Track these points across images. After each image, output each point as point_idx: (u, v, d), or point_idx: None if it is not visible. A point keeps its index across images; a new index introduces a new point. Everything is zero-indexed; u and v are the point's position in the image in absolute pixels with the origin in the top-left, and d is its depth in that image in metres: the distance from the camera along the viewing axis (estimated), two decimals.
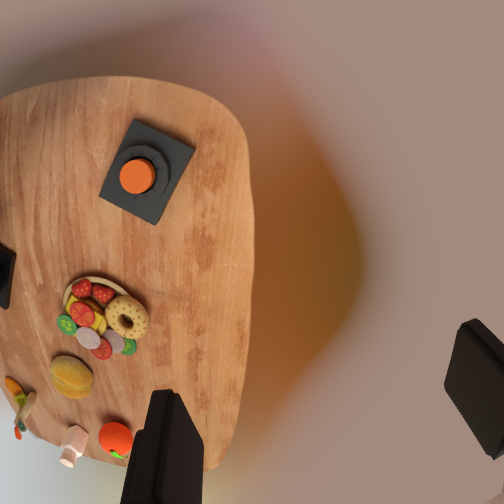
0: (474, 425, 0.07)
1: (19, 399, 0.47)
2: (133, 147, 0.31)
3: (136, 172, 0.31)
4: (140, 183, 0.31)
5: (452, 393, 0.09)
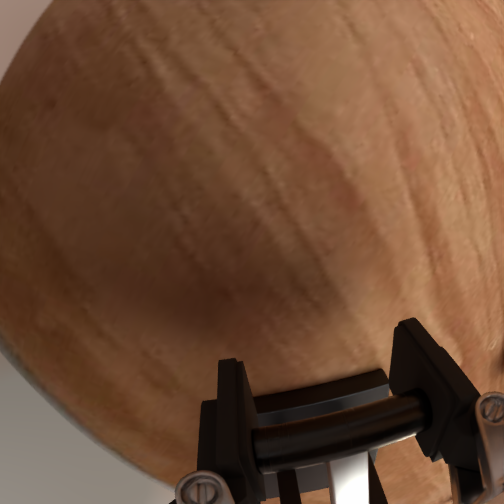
0: None
1: None
2: None
3: None
4: None
5: (395, 391, 0.10)
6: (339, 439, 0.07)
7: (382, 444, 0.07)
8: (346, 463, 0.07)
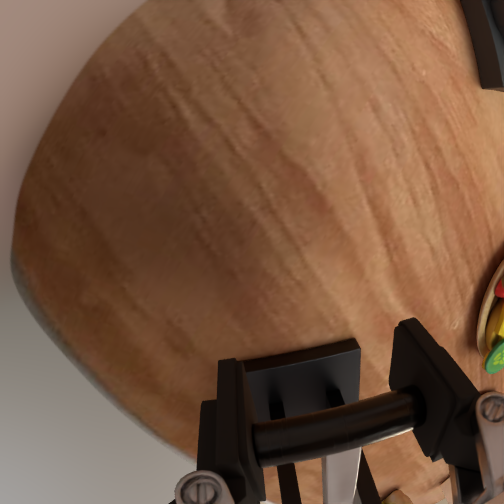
0: None
1: None
2: None
3: None
4: None
5: None
6: (337, 442, 0.07)
7: (375, 442, 0.07)
8: (341, 455, 0.08)
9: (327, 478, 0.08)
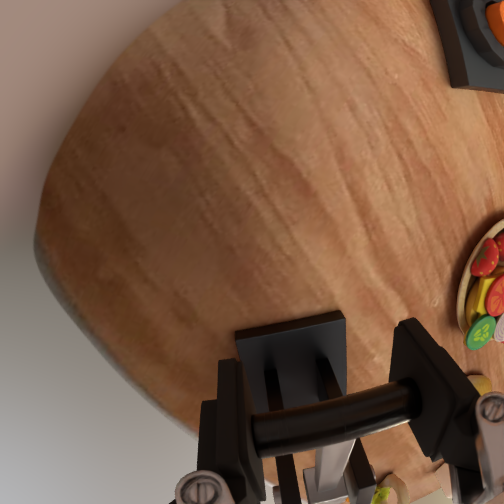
0: (413, 425, 0.08)
1: (375, 498, 0.32)
2: None
3: None
4: None
5: None
6: (335, 437, 0.08)
7: (371, 433, 0.08)
8: (337, 444, 0.08)
9: (322, 458, 0.09)
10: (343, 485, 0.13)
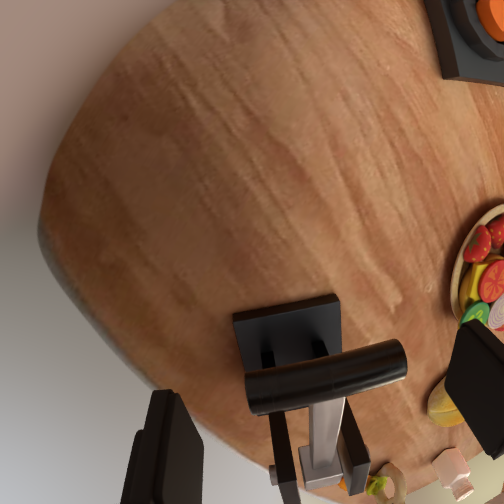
0: (474, 425, 0.07)
1: (372, 487, 0.33)
2: None
3: (503, 10, 0.11)
4: None
5: (452, 393, 0.09)
6: (324, 393, 0.09)
7: (359, 392, 0.09)
8: (327, 403, 0.09)
9: (314, 422, 0.10)
10: (338, 463, 0.14)
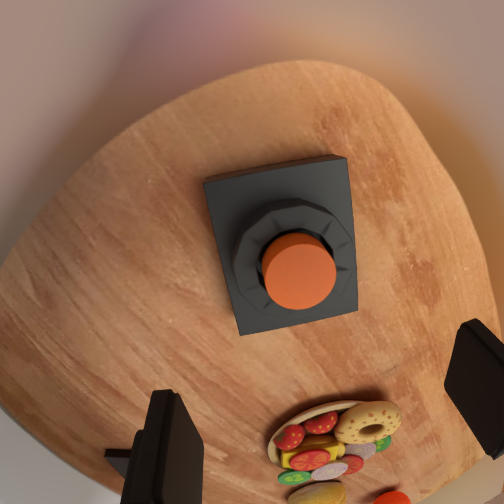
0: (474, 425, 0.07)
1: None
2: (251, 230, 0.16)
3: (298, 269, 0.15)
4: (319, 281, 0.16)
5: (452, 393, 0.09)
6: None
7: None
8: None
9: None
10: None
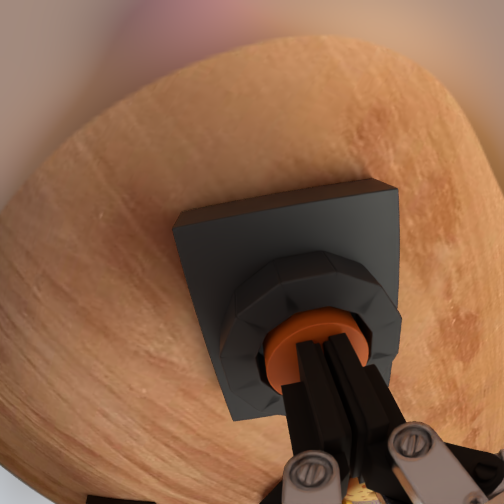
0: None
1: None
2: (249, 312, 0.10)
3: None
4: None
5: None
6: None
7: None
8: None
9: None
10: None
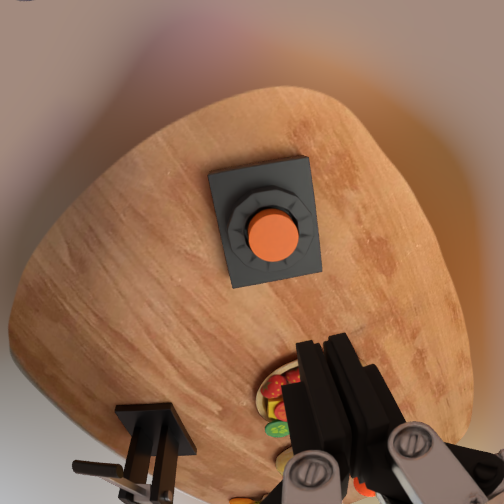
0: None
1: None
2: (240, 206, 0.23)
3: (271, 232, 0.23)
4: (286, 241, 0.23)
5: None
6: (92, 474, 0.20)
7: (106, 477, 0.21)
8: None
9: (104, 479, 0.22)
10: (149, 496, 0.26)
